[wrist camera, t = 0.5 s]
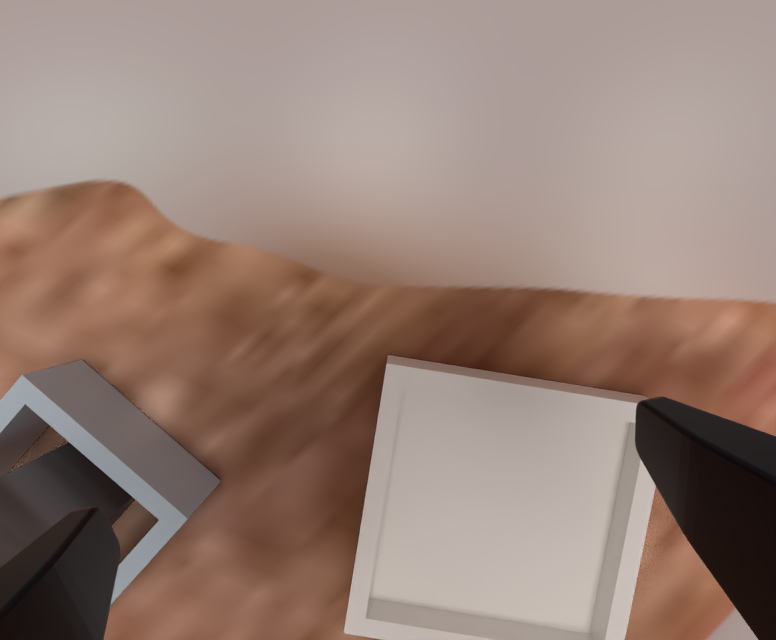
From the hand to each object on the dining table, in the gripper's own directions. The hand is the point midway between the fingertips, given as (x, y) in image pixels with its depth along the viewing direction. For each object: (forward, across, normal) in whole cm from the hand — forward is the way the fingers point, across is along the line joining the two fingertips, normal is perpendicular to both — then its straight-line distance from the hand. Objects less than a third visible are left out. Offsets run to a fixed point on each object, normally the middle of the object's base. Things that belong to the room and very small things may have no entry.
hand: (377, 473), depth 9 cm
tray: (+12, -4, +12) cm, 18 cm away
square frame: (+14, +14, +9) cm, 22 cm away
